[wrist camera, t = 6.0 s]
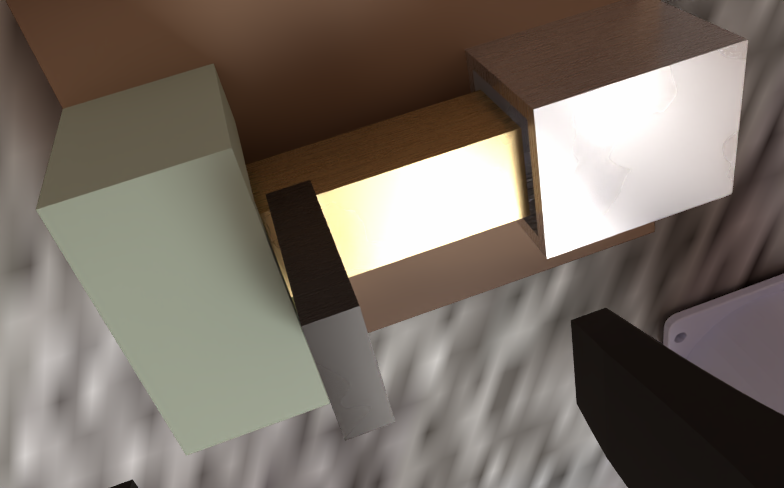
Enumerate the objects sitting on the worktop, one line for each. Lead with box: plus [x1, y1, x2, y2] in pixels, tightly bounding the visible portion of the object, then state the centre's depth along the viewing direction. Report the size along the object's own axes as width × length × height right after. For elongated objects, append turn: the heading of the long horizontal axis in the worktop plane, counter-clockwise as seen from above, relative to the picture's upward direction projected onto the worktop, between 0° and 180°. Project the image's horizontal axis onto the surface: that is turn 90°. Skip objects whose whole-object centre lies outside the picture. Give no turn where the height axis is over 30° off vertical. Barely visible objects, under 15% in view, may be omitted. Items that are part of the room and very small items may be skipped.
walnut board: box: [6, 0, 661, 333], centre depth 19 cm, size 12×15×1 cm
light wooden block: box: [246, 90, 530, 441], centre depth 15 cm, size 3×8×7 cm, turn 102°
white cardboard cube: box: [465, 0, 748, 259], centre depth 18 cm, size 4×5×4 cm
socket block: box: [36, 63, 330, 455], centre depth 16 cm, size 7×4×5 cm, turn 12°
